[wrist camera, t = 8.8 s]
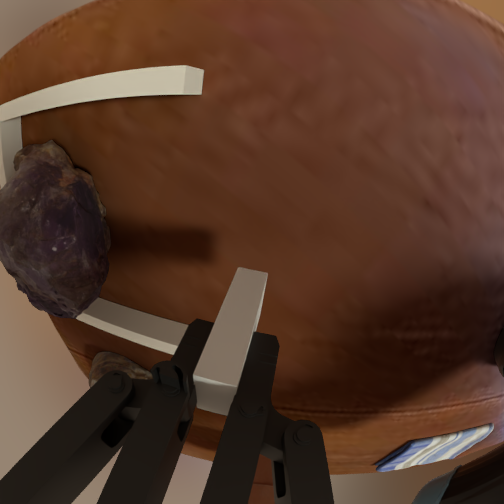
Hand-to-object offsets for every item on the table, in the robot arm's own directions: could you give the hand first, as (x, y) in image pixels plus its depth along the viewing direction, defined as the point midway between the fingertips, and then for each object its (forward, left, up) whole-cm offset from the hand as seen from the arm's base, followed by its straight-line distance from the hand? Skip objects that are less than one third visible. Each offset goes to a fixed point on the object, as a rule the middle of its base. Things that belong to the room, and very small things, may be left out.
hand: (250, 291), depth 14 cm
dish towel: (-43, +39, -5) cm, 58 cm away
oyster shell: (+15, +25, -5) cm, 29 cm away
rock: (+14, 0, -4) cm, 15 cm away
